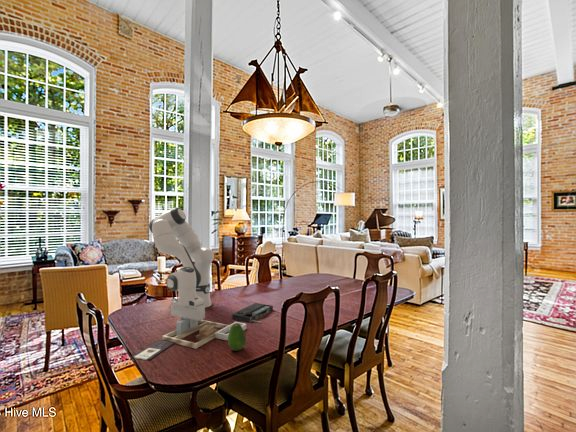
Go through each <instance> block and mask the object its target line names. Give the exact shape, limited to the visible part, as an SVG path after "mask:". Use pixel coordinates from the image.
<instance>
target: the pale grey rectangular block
mask: <svg viewBox="0 0 576 432" xmlns="http://www.w3.org/2000/svg"><path fill="white" fill-rule="evenodd" d="M190 323H191V321H190V319H187V318H184V319H182V320H180V319H179V320H177V321H176V323H175V327H176V328H175V330H176V335H175V336H177V335H179V334H181V333H184V332H186V331H188V330H190V329H192V328H194V327H196V326H198V325H199V324H198V321H197V320H195V322H194V323H193V327H192V328H190V327H189V324H190Z"/></svg>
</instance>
